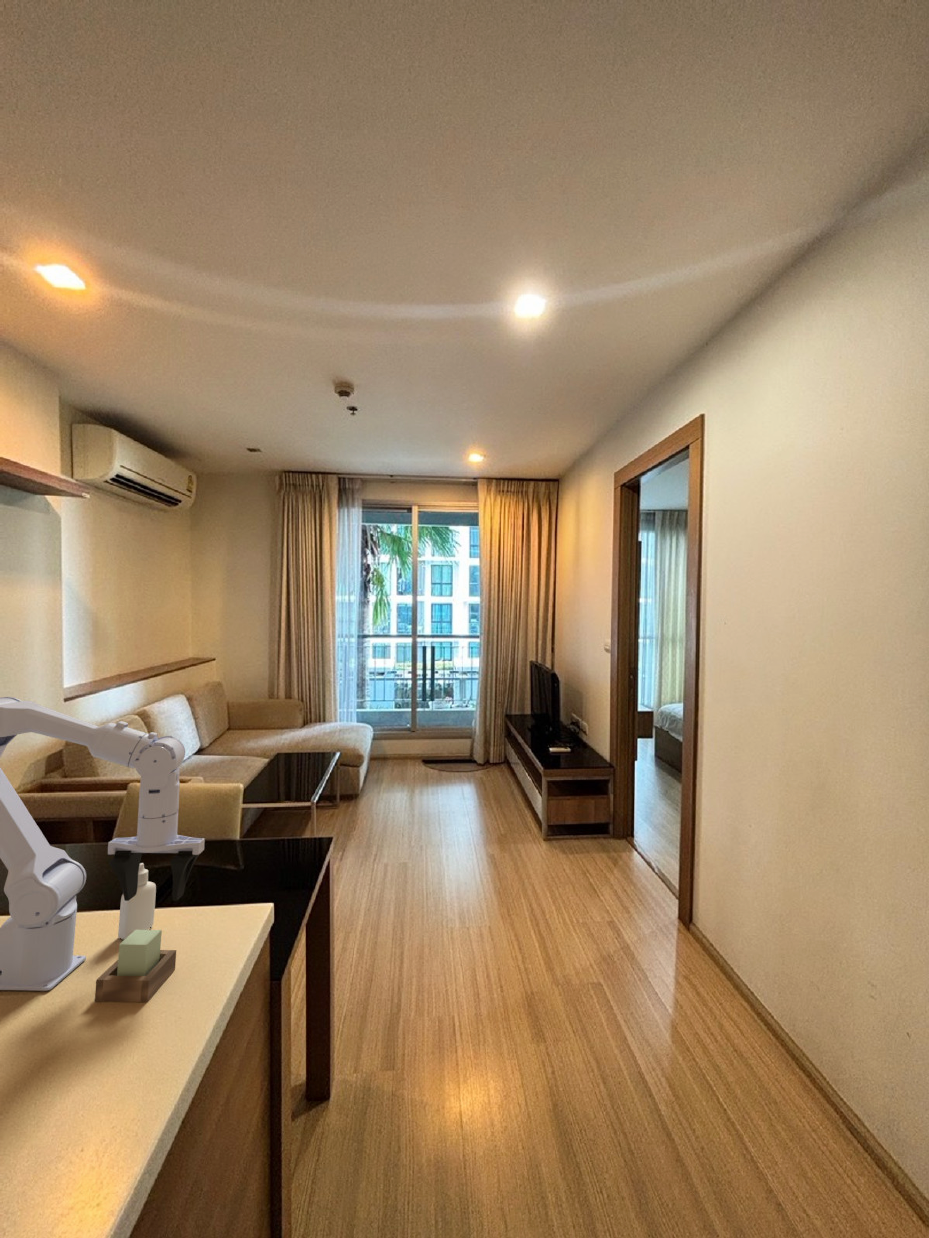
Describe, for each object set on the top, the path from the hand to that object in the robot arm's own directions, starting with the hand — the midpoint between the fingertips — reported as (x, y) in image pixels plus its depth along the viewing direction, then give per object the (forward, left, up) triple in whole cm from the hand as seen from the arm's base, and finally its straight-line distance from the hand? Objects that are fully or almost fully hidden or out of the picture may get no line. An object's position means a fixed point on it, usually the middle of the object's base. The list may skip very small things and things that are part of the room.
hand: (154, 897), depth 83 cm
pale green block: (+1, -5, -11) cm, 12 cm away
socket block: (+1, -5, -10) cm, 12 cm away
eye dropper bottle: (-7, +9, -11) cm, 16 cm away
